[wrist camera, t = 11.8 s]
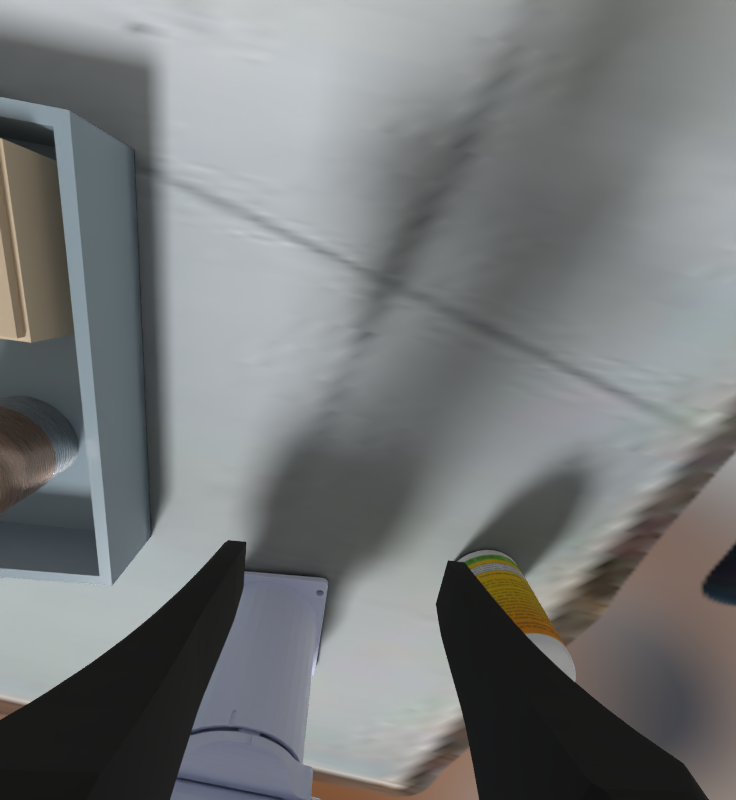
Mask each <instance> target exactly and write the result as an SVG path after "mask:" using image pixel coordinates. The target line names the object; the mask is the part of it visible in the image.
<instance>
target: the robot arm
mask: <svg viewBox="0 0 736 800" xmlns="http://www.w3.org/2000/svg"><path fill="white" fill-rule="evenodd" d="M245 554H246V542H241V541H230V540H228V541H227V542H225V543H224V544H223V545H222V547H221V548H220V549H219V550H218V551H217V552H216V553H215V555H214V556H213V557H212V558H211V559H210V560H209V561H208V562H207V563H206V564H205V565H204V567H203V568H202V569H201V570H200V571H199V572H198V573H197V574H196V575H195V576H194V577H193V578H192V579H191V580H190V581H189V582H188V583H187V584H186V585H185V586H184V587H183V588H182V589H181V590H180V591H179V592H178V593H177V594H176V595H174V596H173V597H172V598H171V599H170V600H169V601H168V602H167V603H166V604H165V605H164V606H162V607H161V608H160V609H159V610H158V611H157V612H156V613H155V614H154V615H152V616H151V617H150V618H149V619H148V620H147V621H145V622H144V623H143V624H142V625H141V626H139V627H138V628H137V629H136V630H134V631H133V632H132V633H131V634H129V635H128V636H127V637H126V638H124V639H123V640H122V641H120V642H119V643H118V644H116V645H115V646H114V647H112V648H111V649H110V650H108V651H107V652H106V653H104V654H103V655H102V656H100V657H99V658H97V659H96V660H95V661H93V662H92V663H90V664H89V665H87V666H86V667H85V668H83V669H82V670H80V671H79V672H77V673H76V674H74V675H73V676H71V677H69V678H68V679H66V680H65V681H63V682H62V683H60V684H59V685H57V686H56V687H54V688H53V689H51V690H50V691H48V692H47V693H45V694H43V695H42V696H40V697H39V698H37V699H35V700H34V701H32V702H31V703H29V704H27V705H25V706H24V707H22V708H20V709H18V710H17V711H15V712H13V713H11V714H10V715H8V716H6V717H5V718H3V719H1V720H0V800H320V799H318V798H315V797H311V789H312V777H313V768H312V767H310V766H306V765H304V764H303V754H304V745H305V735H306V725H307V715H308V705H309V695H310V685H311V677H312V676H313V675H314V674H315V669H316V662H317V655H318V649H319V642H320V636H321V629H322V622H323V616H324V609H325V603H326V596H327V589H328V581H327V580H326V579H324V578H318V577H306V576H294V575H283V574H271V573H259V572H247V571H245ZM318 590H322V591H318ZM436 607H437V614H438V620H439V626H440V632H441V637H442V641H443V644H444V648H445V652H446V655H447V659H448V663H449V666H450V670H451V673H452V677H453V680H454V684H455V688H456V691H457V695H458V698H459V702H460V706H461V709H462V713H463V717H464V722H465V726H466V731H467V736H468V741H469V746H470V751H471V756H472V761H473V767H474V773H475V778H476V784H477V790H478V795H479V800H709V799H708V798H707V796H706V795H705V794H704V792H703V791H702V789H701V788H700V786H699V785H698V783H697V782H696V781H695V779H694V778H693V776H692V775H691V773H690V772H689V771H688V769H687V768H686V766H685V765H684V764H683V763H682V762H680V761H679V760H677V759H676V758H674V757H673V756H672V755H670V754H669V753H667V752H666V751H664V750H663V749H661V748H660V747H659V746H657V745H656V744H654V743H653V742H651V741H650V740H648V739H647V738H646V737H644V736H642V735H641V734H640V733H638V732H637V731H636V730H634V729H633V728H632V727H630V726H629V725H628V724H626V723H625V722H624V721H622V720H621V719H620V718H618V717H617V716H616V715H614V714H613V713H612V712H610V711H609V710H608V709H606V708H605V707H604V706H603V705H602V704H600V703H599V702H598V701H597V700H595V699H594V698H593V697H592V696H591V695H589V694H588V693H587V692H586V691H585V690H584V689H582V688H581V687H580V686H579V685H578V684H576V683H575V682H574V681H573V680H572V679H571V678H570V677H569V676H567V675H566V674H565V673H564V672H563V671H562V670H561V669H560V668H559V667H558V666H557V665H555V664H554V663H553V662H552V661H551V660H550V659H549V658H548V657H547V656H546V655H545V654H544V653H543V652H542V651H541V650H540V649H539V648H538V647H537V646H536V645H535V644H534V643H533V642H532V641H531V640H530V639H529V638H528V637H527V636H526V635H525V634H524V632H523V631H522V630H521V629H520V628H519V627H518V626H517V625H516V624H515V623H514V622H513V620H512V619H511V618H510V617H509V616H508V615H507V614H506V612H505V611H504V610H503V609H502V608H501V607H500V605H499V604H498V603H497V602H496V601H495V599H494V598H493V597H492V596H491V595H490V593H489V592H488V591H487V590H486V588H485V587H484V586H483V585H482V584H481V582H480V581H479V580H478V579H477V577H476V576H475V575H474V574H473V572H472V571H471V570H470V569H469V567H468V566H467V565H466V564H465V563H464V562H457V561H448V562H447V566H446V570H445V573H444V577H443V580H442V584H441V588H440V591H439V595H438V598H437V602H436Z"/></svg>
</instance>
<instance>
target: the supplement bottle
mask: <svg viewBox="0 0 736 800" xmlns="http://www.w3.org/2000/svg"><path fill="white" fill-rule="evenodd" d="M457 562H464V563H465V564H466V565H467V566H468V567H469V569H470V570H471V571H472V572H473V574H474V575H475V576H476V577H477V579H478V580H479V581H480V582H481V584H482V585H483V586H484V587H485V588H486V590H487V591H488V592H489V593H490V595H491V596H492V597H493V598H494V599H495V601H496V602H497V603H498V604H499V605H500V607H501V608H502V609H503V610H504V611H505V612H506V614H507V615H508V616H509V617H510V618H511V619H512V620H513V622H514V623H515V624H516V625H517V626H518V627H519V628H520V629H521V630H522V631H523V632H524V634H525V635H526V636H527V637H528V638H529V639H530V640H531V641H532V642H533V643H534V644H535V645H536V646H537V647H538V648H539V649H540V650H541V651H542V652H543V653H544V654H545V655H546V656H547V657H548V658H549V659H550V660H551V661H552V662H553V663H554V664H555V665H557V666H558V667H559V668H560V669H561V670H562V671H563V672H564V673H565V674H566V675H567V676H569V677H570V678H571V679H572V680H573V681H574V682H575V679H576V673H575V667H574V663H573V661H572V658H571V656H570V654H569V653H568V651H567V649H566V647H565V645H564V644H563V642H562V640H561V638H560V637H559V635H558V633H557V632H556V630H555V628H554V627H553V625H552V623H551V622H550V620H549V618H548V616H547V615H546V613H545V611H544V610H543V608H542V606H541V604H540V603H539V601H538V599H537V598H536V596H535V594H534V592H533V591H532V589H531V587H530V586H529V584H528V582H527V581H526V579H525V577H524V575H523V574H522V572H521V570H520V569H519V567H518V566H517V564H516V563H515V562H514V560H512V559H511V558H510V557H509V556H507V555H506V554H504V553H501V552H499V551H494V550H481V551H476V552H473V553H470V554H468V555H466V556H464V557H462V558H461V559H459V560H458V561H457Z"/></svg>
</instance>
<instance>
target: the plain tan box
mask: <svg viewBox="0 0 736 800" xmlns="http://www.w3.org/2000/svg"><path fill="white" fill-rule="evenodd" d="M70 335H75V332H74V322H73V313H72V303H71V293H70V284H69V274H68V264H67V254H66V245H65V235H64V225H63V216H62V206H61V196H60V186H59V177H58V167H57V161H55V160H53V159H50V158H48V157H46V156H43V155H41V154H38V153H36V152H33V151H31V150H29V149H26V148H24V147H21V146H19V145H17V144H14V143H12V142H9V141H7V140H4V139H2V138H0V339H8V340H15V341H23V342H30V343H32V342H37V341H43V340H48V339H53V338H59V337H64V336H70Z"/></svg>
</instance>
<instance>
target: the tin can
mask: <svg viewBox="0 0 736 800" xmlns="http://www.w3.org/2000/svg"><path fill="white" fill-rule="evenodd" d="M77 454H78V438H77V435H76V432H75V430H74V428H73V426H72V424H71V423H70V422H69V420H68V419H67V418H66V417H65V416H64V415H63V414H62V413H61V412H60V411H59V410H57V409H56V408H55V407H53V406H52V405H50V404H48V403H46V402H44V401H42V400H39V399H36V398H32V397H28V396H9V397H5V398H2V399H0V515H1V514H2V513H4V512H5V511H7V510H8V509H10V508H11V507H13V506H14V505H16V504H17V503H19V502H20V501H22V500H23V499H25V498H26V497H28V496H29V495H31V494H32V493H34V492H35V491H37V490H38V489H40V488H41V487H43V486H44V485H45V484H46V483H48V482H49V481H50V480H51V479H53V478H54V477H56V476H57V475H59V474H60V473H62V472H63V471H65V470H66V469H68V468H69V467H70V466H71V465H72V464H73V462H74V461H75V459H76V457H77Z"/></svg>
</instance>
